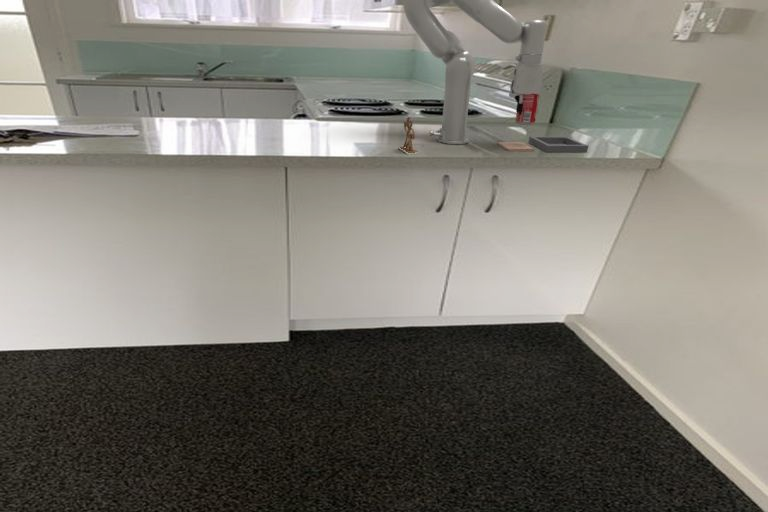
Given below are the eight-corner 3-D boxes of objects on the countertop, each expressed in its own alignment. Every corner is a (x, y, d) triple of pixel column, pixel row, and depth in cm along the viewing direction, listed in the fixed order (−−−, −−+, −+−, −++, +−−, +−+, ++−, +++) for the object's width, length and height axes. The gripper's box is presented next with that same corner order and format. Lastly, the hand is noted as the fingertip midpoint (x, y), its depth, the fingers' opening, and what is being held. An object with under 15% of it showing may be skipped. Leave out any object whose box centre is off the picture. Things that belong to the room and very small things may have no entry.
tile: (507, 150, 156) (508, 148, 156) (497, 144, 166) (497, 142, 165) (533, 150, 157) (533, 148, 157) (521, 144, 167) (521, 142, 167)
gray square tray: (546, 152, 156) (547, 145, 154) (528, 142, 170) (529, 136, 169) (586, 152, 157) (588, 145, 156) (565, 142, 172) (567, 136, 170)
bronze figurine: (418, 154, 148) (420, 119, 142) (408, 155, 147) (410, 119, 141) (407, 148, 155) (409, 115, 150) (398, 149, 154) (399, 115, 148)
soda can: (537, 125, 155) (543, 88, 149) (517, 125, 155) (523, 87, 149) (531, 122, 162) (537, 86, 156) (512, 122, 161) (518, 85, 156)
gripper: (513, 60, 143) (505, 116, 152) (555, 60, 145) (545, 116, 153) (505, 59, 150) (497, 112, 158) (545, 59, 152) (536, 112, 160)
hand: (521, 114), depth 156 cm, fingers closed
